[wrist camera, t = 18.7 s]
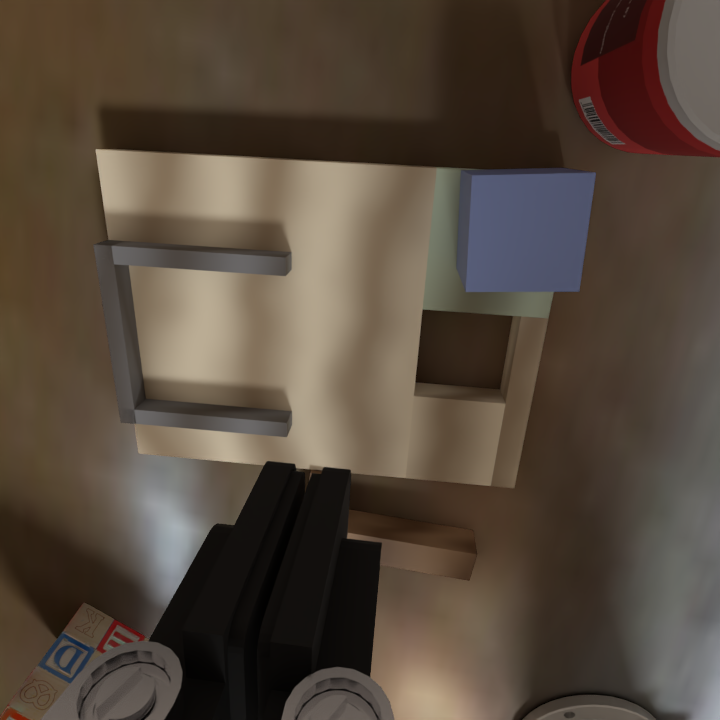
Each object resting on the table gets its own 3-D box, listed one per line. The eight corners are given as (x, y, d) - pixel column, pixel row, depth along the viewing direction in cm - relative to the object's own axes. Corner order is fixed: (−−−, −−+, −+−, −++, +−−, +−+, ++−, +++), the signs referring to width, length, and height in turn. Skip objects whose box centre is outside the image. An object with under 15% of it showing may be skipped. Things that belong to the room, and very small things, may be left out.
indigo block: (562, 167, 26) (595, 172, 21) (550, 267, 27) (579, 291, 23) (460, 170, 26) (471, 175, 21) (456, 267, 28) (465, 291, 23)
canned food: (703, 160, 27) (883, 170, 17) (548, 145, 27) (632, 145, 17) (762, -16, 24) (1025, -137, 14) (587, -31, 24) (717, -159, 14)
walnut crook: (487, 480, 35) (492, 503, 33) (465, 555, 38) (469, 580, 36) (316, 452, 36) (310, 472, 34) (307, 528, 38) (300, 551, 36)
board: (566, 173, 27) (586, 177, 24) (508, 470, 35) (518, 503, 32) (115, 149, 29) (78, 149, 26) (152, 437, 36) (127, 466, 33)
